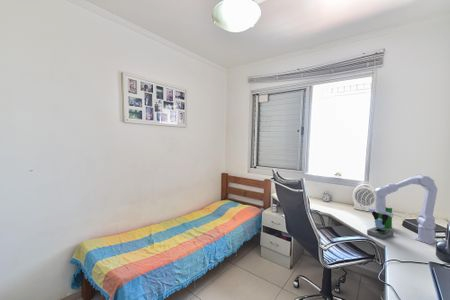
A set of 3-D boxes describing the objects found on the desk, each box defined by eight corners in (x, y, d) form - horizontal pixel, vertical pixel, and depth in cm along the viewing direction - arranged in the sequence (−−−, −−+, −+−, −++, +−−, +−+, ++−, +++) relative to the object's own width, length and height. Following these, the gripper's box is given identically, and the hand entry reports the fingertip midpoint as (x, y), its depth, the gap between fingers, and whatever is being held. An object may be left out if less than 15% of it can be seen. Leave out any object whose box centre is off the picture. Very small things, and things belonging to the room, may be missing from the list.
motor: (394, 227, 154) (394, 202, 154) (387, 229, 151) (387, 203, 151) (380, 222, 164) (380, 198, 164) (373, 224, 161) (373, 200, 160)
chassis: (377, 230, 150) (377, 226, 150) (393, 235, 141) (393, 231, 141) (367, 233, 144) (367, 229, 143) (383, 239, 135) (383, 235, 135)
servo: (379, 224, 145) (379, 216, 145) (385, 226, 142) (385, 218, 142) (374, 226, 142) (374, 218, 142) (380, 228, 139) (380, 220, 139)
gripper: (366, 203, 146) (366, 221, 147) (389, 208, 134) (389, 228, 134) (371, 201, 150) (371, 219, 150) (394, 207, 137) (394, 226, 137)
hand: (380, 223), depth 142 cm, fingers closed on servo, 4 cm apart
